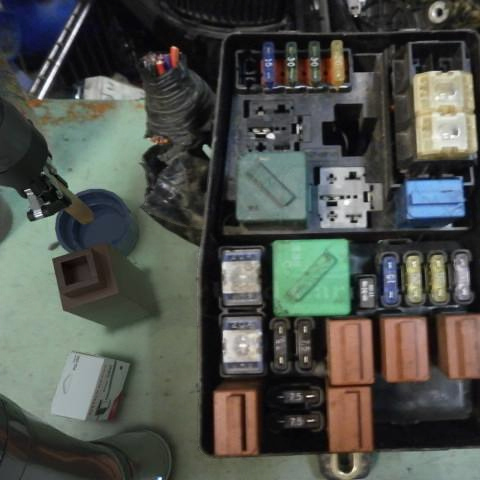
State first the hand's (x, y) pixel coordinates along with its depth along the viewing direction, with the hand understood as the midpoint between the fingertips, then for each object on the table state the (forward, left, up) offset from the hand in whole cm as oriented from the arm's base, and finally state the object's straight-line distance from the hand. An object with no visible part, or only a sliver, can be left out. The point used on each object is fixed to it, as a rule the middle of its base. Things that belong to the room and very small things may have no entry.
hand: (62, 196), depth 72 cm
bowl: (0, 0, -17) cm, 17 cm away
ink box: (-24, +5, -17) cm, 30 cm away
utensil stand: (-12, -1, -17) cm, 21 cm away
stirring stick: (0, 0, -9) cm, 9 cm away
